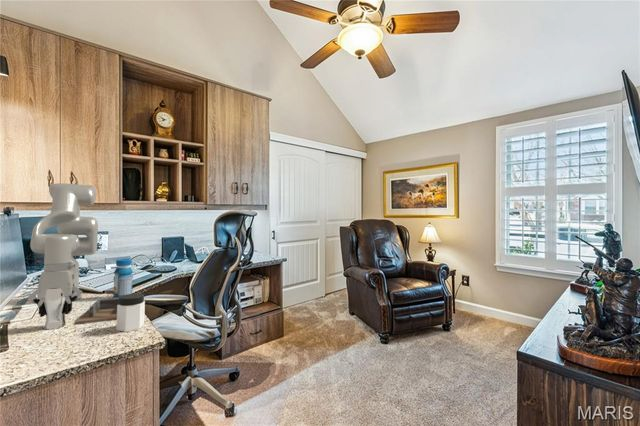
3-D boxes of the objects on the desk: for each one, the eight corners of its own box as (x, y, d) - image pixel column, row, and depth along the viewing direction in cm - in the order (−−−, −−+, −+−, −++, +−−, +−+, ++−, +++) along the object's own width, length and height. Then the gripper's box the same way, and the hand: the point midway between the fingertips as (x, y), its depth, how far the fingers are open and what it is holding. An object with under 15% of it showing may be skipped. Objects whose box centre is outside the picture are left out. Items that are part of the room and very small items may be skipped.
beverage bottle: (125, 299, 146) (126, 260, 146) (108, 299, 146) (110, 260, 146) (135, 295, 154) (137, 258, 155) (120, 295, 154) (121, 258, 155)
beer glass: (71, 324, 110) (73, 286, 111) (49, 331, 104) (51, 290, 104) (60, 322, 113) (61, 284, 113) (37, 328, 106) (39, 288, 107)
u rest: (90, 309, 129) (91, 298, 129) (137, 305, 137) (137, 294, 137) (75, 324, 111) (75, 311, 111) (129, 318, 119) (130, 306, 119)
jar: (111, 329, 106) (112, 297, 106) (131, 322, 114) (132, 292, 114) (129, 333, 103) (130, 299, 104) (148, 325, 111) (149, 294, 111)
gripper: (88, 265, 116) (87, 309, 115) (32, 267, 109) (30, 314, 108) (82, 267, 109) (80, 314, 109) (22, 270, 102) (19, 320, 101)
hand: (55, 314), depth 108 cm, fingers closed on beer glass, 6 cm apart
